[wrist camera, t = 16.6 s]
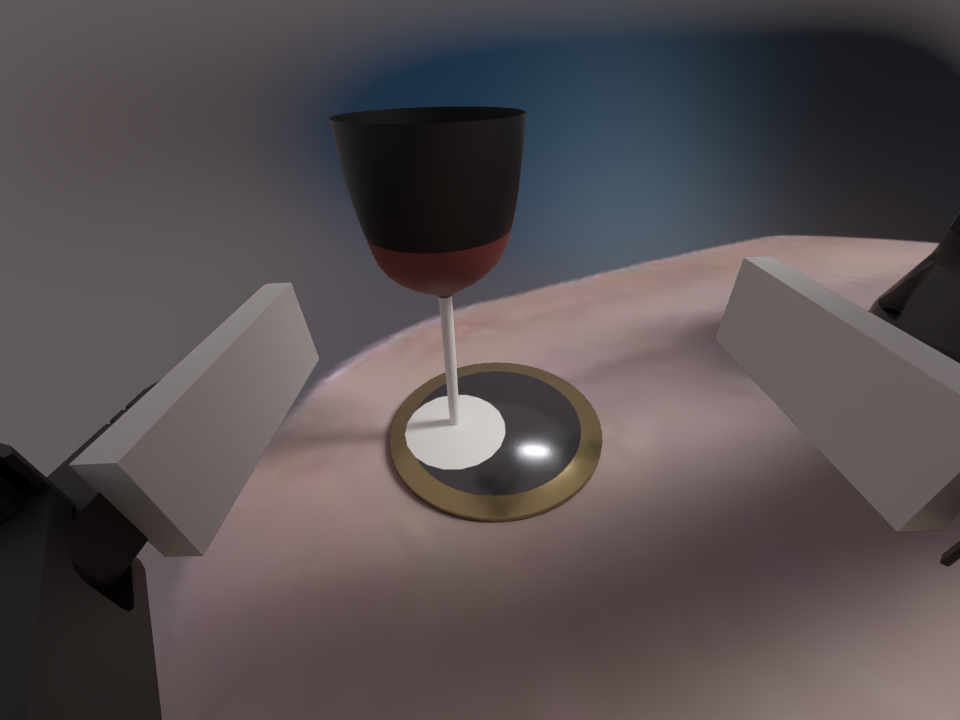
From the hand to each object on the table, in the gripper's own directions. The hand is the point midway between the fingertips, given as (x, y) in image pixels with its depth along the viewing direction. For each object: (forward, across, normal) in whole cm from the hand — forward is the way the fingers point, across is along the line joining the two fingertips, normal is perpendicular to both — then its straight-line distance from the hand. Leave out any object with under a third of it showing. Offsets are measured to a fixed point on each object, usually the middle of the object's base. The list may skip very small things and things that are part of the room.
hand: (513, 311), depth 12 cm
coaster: (+11, -1, -16) cm, 19 cm away
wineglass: (+10, -4, -15) cm, 19 cm away
